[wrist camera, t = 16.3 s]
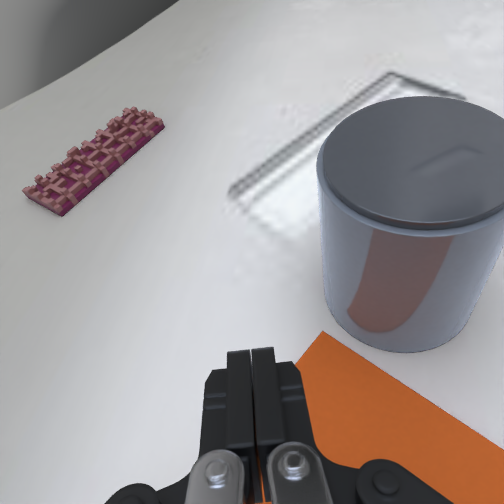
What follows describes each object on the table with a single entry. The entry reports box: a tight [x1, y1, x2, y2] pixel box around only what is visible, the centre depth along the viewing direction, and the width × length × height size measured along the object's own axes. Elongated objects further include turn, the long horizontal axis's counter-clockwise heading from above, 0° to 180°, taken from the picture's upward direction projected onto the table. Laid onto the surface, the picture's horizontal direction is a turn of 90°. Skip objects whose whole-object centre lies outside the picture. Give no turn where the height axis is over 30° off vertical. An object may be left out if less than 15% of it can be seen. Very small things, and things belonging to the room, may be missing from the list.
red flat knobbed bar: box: [22, 107, 165, 216], centre depth 54 cm, size 7×19×2 cm, turn 145°
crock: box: [316, 96, 504, 353], centre depth 30 cm, size 12×12×15 cm
